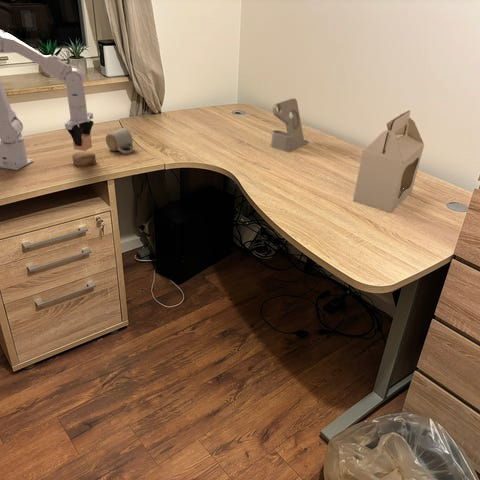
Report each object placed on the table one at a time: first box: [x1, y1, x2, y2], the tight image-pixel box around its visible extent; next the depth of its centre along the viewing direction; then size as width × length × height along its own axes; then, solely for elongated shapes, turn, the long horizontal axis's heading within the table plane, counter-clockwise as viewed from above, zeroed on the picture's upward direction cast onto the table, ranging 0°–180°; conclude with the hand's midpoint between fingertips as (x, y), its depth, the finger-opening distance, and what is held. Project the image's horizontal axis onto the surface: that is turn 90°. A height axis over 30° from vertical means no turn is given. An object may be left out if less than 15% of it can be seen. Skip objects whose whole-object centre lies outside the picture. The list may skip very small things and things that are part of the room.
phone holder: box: [270, 97, 310, 153], centre depth 197 cm, size 17×10×18 cm, turn 142°
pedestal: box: [72, 151, 97, 168], centre depth 172 cm, size 8×8×3 cm
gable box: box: [352, 110, 425, 213], centre depth 154 cm, size 22×13×28 cm, turn 145°
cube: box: [72, 134, 93, 152], centre depth 169 cm, size 4×4×4 cm
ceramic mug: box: [105, 127, 134, 155], centre depth 184 cm, size 11×8×8 cm
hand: (82, 143), depth 169 cm, fingers closed on cube, 4 cm apart
